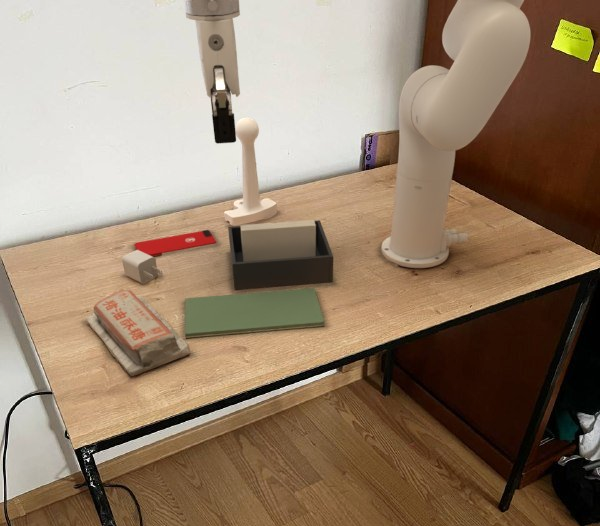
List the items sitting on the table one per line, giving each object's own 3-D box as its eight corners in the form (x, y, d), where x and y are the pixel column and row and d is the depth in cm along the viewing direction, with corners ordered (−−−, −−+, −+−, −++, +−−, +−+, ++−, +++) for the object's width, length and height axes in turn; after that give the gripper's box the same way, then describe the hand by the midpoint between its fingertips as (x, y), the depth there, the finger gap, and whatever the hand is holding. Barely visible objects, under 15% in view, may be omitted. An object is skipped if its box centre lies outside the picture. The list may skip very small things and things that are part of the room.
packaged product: (188, 328, 90) (124, 353, 86) (192, 355, 93) (131, 379, 89) (137, 277, 101) (78, 297, 97) (142, 303, 104) (85, 322, 100)
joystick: (236, 229, 125) (227, 126, 111) (216, 217, 129) (206, 116, 116) (280, 214, 130) (277, 114, 116) (259, 203, 134) (254, 105, 121)
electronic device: (139, 258, 116) (217, 244, 120) (139, 256, 115) (216, 241, 119) (134, 245, 120) (209, 231, 124) (133, 242, 119) (208, 229, 123)
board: (313, 260, 114) (313, 219, 108) (315, 266, 112) (315, 225, 107) (243, 265, 112) (240, 224, 107) (244, 271, 111) (241, 230, 106)
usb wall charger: (143, 268, 113) (139, 248, 110) (168, 280, 110) (164, 260, 107) (125, 277, 111) (121, 257, 108) (150, 289, 107) (146, 269, 105)
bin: (319, 247, 119) (320, 220, 115) (332, 284, 108) (333, 256, 104) (230, 253, 117) (228, 226, 113) (234, 292, 106) (232, 264, 103)
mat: (314, 292, 106) (314, 287, 106) (324, 327, 98) (324, 321, 98) (186, 303, 104) (185, 298, 103) (185, 339, 96) (185, 333, 96)
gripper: (243, 13, 79) (252, 149, 90) (235, -8, 92) (244, 113, 103) (184, 16, 78) (201, 152, 90) (185, -6, 91) (199, 116, 103)
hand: (224, 131), depth 96 cm, fingers open, 9 cm apart
